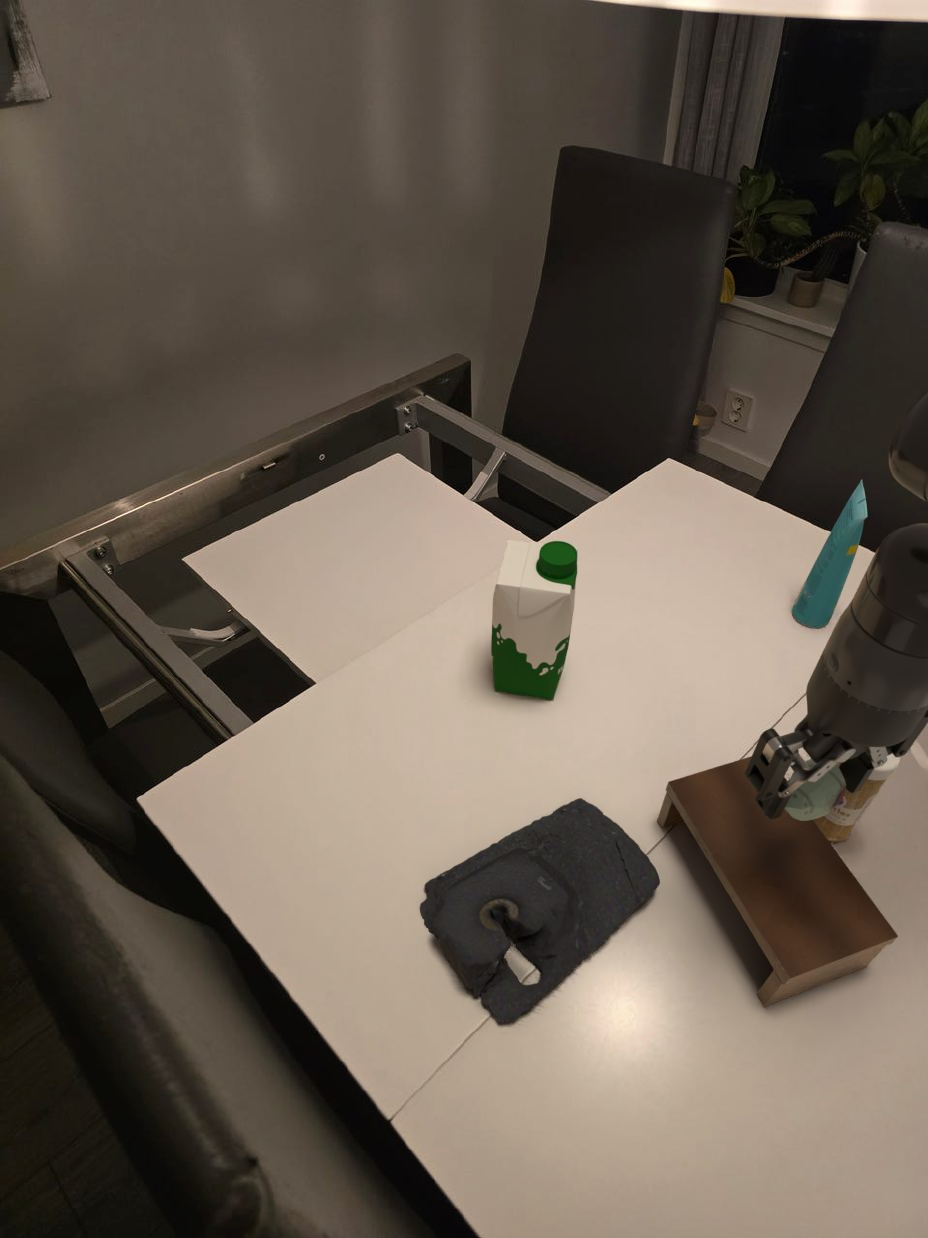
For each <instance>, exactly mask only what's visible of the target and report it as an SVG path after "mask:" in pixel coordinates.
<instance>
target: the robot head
mask: <svg viewBox="0 0 928 1238" xmlns="http://www.w3.org/2000/svg"><path fill="white" fill-rule="evenodd" d="M804 761H805V762H806V763H807V765H808V766H809V767H810V768H812V767H813V766H814V765H816V764H817V763H815V762H814V761H813V760H812V759H811V758H809V759H807V760H804ZM793 775H794V772H793V773H792V775H791V776H790V778H791V777H793ZM845 793H846V782H845V779H844V777H843V775H842V773H841V771H840V769H839V763H837V764H836V765H835V766H834V767H833V768H831V769H830V770H829V771H828V772H827V773H825V774H824V775H823V776H822V777H821V778H820V779H818V780H817V781H816V782H814V783H810V782H805V783H803V784H802V785H801V786H800V787H799V788H798V789H796V790H795V791H794V792H793V793H792V796H791V797H790V799H789V801H788V803H787V805H786V807H785V808H784V809H785V810H786V811H787V812H788V813H789V814H790V815H791V817H793V818H795V819H797V820H800V821H808V820H813V819H817V818H820V817H822V816H824V815H827V814H828V813H829V812H830V811H831V810H832V809H833V808H834V807H835V806H836V805H837V804H838V803H839V802H840V801H841V800H842V798H843V797H844V795H845Z"/></svg>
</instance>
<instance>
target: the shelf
mask: <svg viewBox="0 0 928 1238" xmlns="http://www.w3.org/2000/svg"><path fill="white" fill-rule="evenodd" d="M751 757H752V755H750V756H748V757H744V758H742V759H738V760H734V761H731V762H728V763H725V764H721V765H718V766H715V767H712V768H709V769H706V770H703V771H699V772H696V773H692V774H689V775H686V776H683V777H680V778H676V779H673V780H670V781H667V784H666V788H665V794H664V798H663V800H662V801H663V802H662V805H661V808H660V810H659V813H658V816H657V818H656V822H657V823H658V824H659V827H660V828H661V830H666V829H668V828H671V827H675V826H678V825H681V824H684V823H685V825H686V826H687V828H688V829H689V831H690V833H691V834H692V836H693V838H694V839H695V841H696V843H697V844H698V846H699V848H700V850H701V851H702V853H703V855H704V856H705V858H706V859H707V861H708V863H709V864H710V866H711V868H712V869H713V871H714V872H715V875H716V877H717V878H718V880H719V881H720V883H721V885H722V886H723V888H724V889H725V892H727V894H728V896H729V898H730V899H731V900H732V903H733V905H734V906H735V907H736V910H738V913H739V914H740V916H741V917H742V919H743V921H744V922H745V924H746V926H747V928H748V929H749V931H750V932H751V933H752V935H753V937H754V939H755V941H756V943H757V945H758V946H759V947H760V949H761V950H762V952H763V954H764V956H765V957H766V959H767V960H768V962H769V964H770V965H771V967H772V969H773V970H772V972H771V973H770V975H769V976H768V977H767V979H766V980H765V981H764V983H763V984H762V985H761V987H760V988H759V990H758V991H757V993H756V995H757V996H758V999H759V1000H760V1002H761V1004H762V1005H763V1007H767V1006H769V1005H772V1004H775V1003H777V1002H780V1001H782V1000H785V999H787V998H790V997H791V996H795V995H797V994H800V993H802V992H806V991H808V990H810V989H813V988H816V987H818V986H821V985H823V984H825V983H828V982H831V981H833V980H835V979H838V978H841V977H843V976H845V975H848V974H851V973H854V972H856V971H858V970H861V969H863V968H866V967H868V966H869V965H870V964H871V962H872V961H874V959H875V958H876V957H877V956H878V955H879V954H880V953H881V952H882V951H883V949H885V948H886V946H889V945H892V944H893V943H894V942H895V941H896V940H897V939H898V938H899V935H898V934H897V932H896V931H895V930H894V928H893V927H892V926H891V924H890V923H889V921H888V920H887V919H886V917H885V916H884V915H883V913H882V912H881V910H880V909H879V908H878V906H877V905H876V904H875V902H874V901H873V900H872V898H871V897H870V896H869V894H868V893H867V892H866V890H865V889H864V887H863V885H861V884H860V882H859V881H858V879H857V878H856V877H855V875H854V873H852V871H851V870H850V868H849V867H848V865H847V864H846V863H845V862H844V860H843V859H842V857H841V856H840V854H839V853H838V852H837V851H836V849H835V847H834V846H833V845H832V844H831V842H830V841H828V840H827V838H826V837H825V836H824V834H823V833H822V832H821V830H820V829H819V828H818V826H817V825H816V824H815V822H814V821H813V820H808V821H800V820H797V819H795V818H793V817H791V815H790V814H789V813H788V812H787V811H786V810H785V809H784V810H783V812H782V814H781V816H780V817H778V818H775V819H772V820H771V819H769V818H768V816H767V815H764V813H763V812H762V810H761V809H760V807H759V806H758V804H757V803H756V801H755V797H756V795H757V793H758V792H757V791H756V789H755V788H754V787H753V785H752V784H751V782H750V781H749V779H748V778H747V777H746V775H745V771H746V768H747V766H748V764H749V761H750V759H751Z"/></svg>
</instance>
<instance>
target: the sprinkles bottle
mask: <svg viewBox="0 0 928 1238" xmlns="http://www.w3.org/2000/svg"><path fill="white" fill-rule="evenodd" d="M886 757H887V762H886V763H885V764H884V765H883V766H880V767H878V768H874V770H873V771H872V773H871V775H870V776H869V778H868V779H867V781H866V782H865V784H864V785H863V787H862V788H861V790H860V791H857V792H854V793H850V792H849V791H848V790H847V789H846V793H845V795H844V797H843V798H842V800H841V801H840V802H839V803H838V804H837V805H836V806H835V807H834V808H833V809H832V810H831V811H830V812H829V813H828V814H827V815H824V816H822V817H820V818H817V819H813V821H814V822H815V824H816V825H817V826H818V828H819V829H820V830H821V832H822V833H823V834H824V836H825V837H826V838H827V840H828V841H829V842H834V843H838V842H843V841H845V840H847V839H848V838H849V837H850V835H851V833H852V831H853V829H854V827H855V826H856V824H857V823H858V822H859V821H860V820H861V818H862V817H863V815H864V814H865V812H866V811H867V810H868V808H869V806H870V805H871V804H872V802H873V801H874V799H875V798H876V796H877V795H878V793H879V792H880V790H881V788H882V786H883V785H884V783H885V782H886V781H887V780H888V779H890V778H891V777H892V776H893V774H894V773H895V771H896V770H897V769H898V767H899V766H900V763H901V756H900V757H895V756H894V755H893V754H890V755H888V756H886ZM840 765H841V763H839V766H840Z"/></svg>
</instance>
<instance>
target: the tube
mask: <svg viewBox="0 0 928 1238" xmlns="http://www.w3.org/2000/svg"><path fill="white" fill-rule="evenodd" d="M867 518H868V507H867V500H866V493H865V488H864V483H863V479H861V480H860V482H859V483H858V485H857V486H856V488H855V489H854V491H853V492H852V494H851V496H850V497H849V499H848V501H847V502H846V504H845V505H844V507H843V509H842V510H841V512H840V514H839V516H838V518H837V520H836V521H835V523H834V526H833V527H832V529H831V531H830V533H829V535H828V537H827V538H826V540H825V542H824V544H823V546H822V548H821V550H820V552H819V554H818V556H817V558H816V559H815V562H814V563H813V566H812V567H811V569H810V571H809V573H808V575H807V576H806V579H805V581H804V583H803V585H802V588H801V589H800V591H799V593H798V595H797V598H796V600H795V601H794V603H793V605H792V607H791V613H792V616H793V618H794V619H795V620H796V621H797V622H799V623H800V624H802V625H804V626H806V627H808V628H817V629H818V628H823V627H825V626H827V625H829V623H830V622H831V619H832V617H833V614H834V612H835V609H836V607H837V604H838V602H839V600H840V598H841V595H842V592H843V589H844V587H845V585H846V582H847V579H848V576H849V574H850V572H851V569H852V566H853V563H854V560H855V557H856V554H857V551H858V548H859V545H860V542H861V537H862V534H863V529H864V524H865V520H866V519H867Z"/></svg>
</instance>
